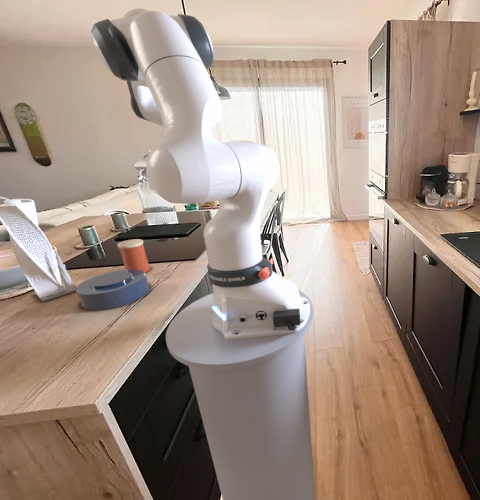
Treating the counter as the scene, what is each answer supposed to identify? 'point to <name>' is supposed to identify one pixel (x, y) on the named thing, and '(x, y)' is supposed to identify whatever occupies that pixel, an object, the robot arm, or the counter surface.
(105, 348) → the counter surface
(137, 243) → the terracotta cup
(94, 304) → the blue round puck
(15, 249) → the skyscraper
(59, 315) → the counter surface
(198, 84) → the robot arm
